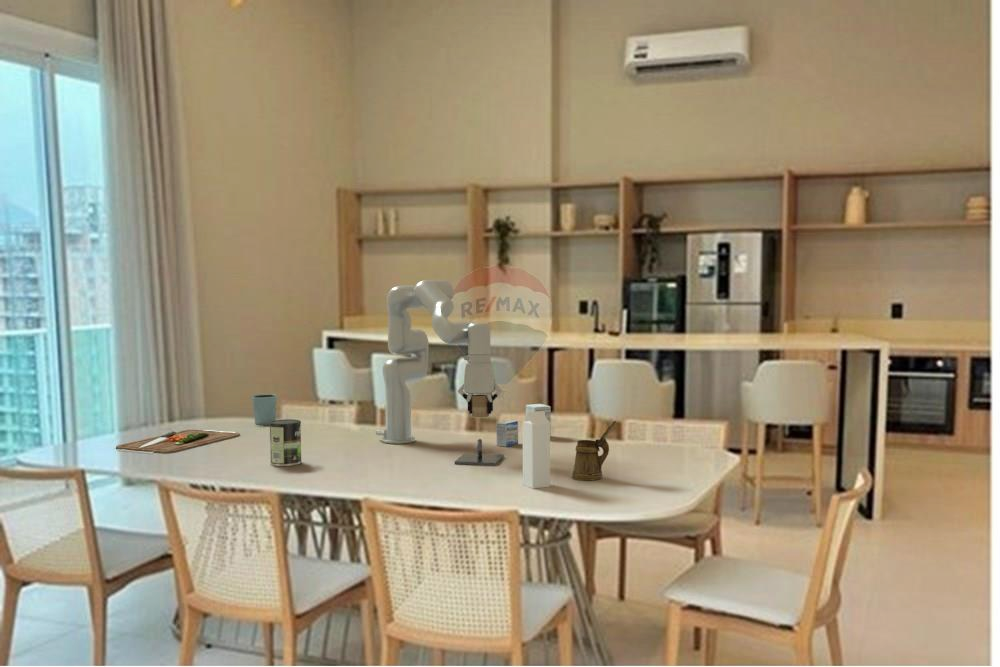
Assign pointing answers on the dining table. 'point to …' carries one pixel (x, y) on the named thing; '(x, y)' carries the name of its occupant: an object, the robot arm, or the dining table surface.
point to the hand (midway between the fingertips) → (480, 412)
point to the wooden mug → (591, 457)
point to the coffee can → (285, 442)
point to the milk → (536, 450)
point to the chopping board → (176, 441)
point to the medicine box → (507, 433)
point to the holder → (479, 457)
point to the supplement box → (540, 408)
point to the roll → (479, 405)
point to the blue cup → (264, 408)
